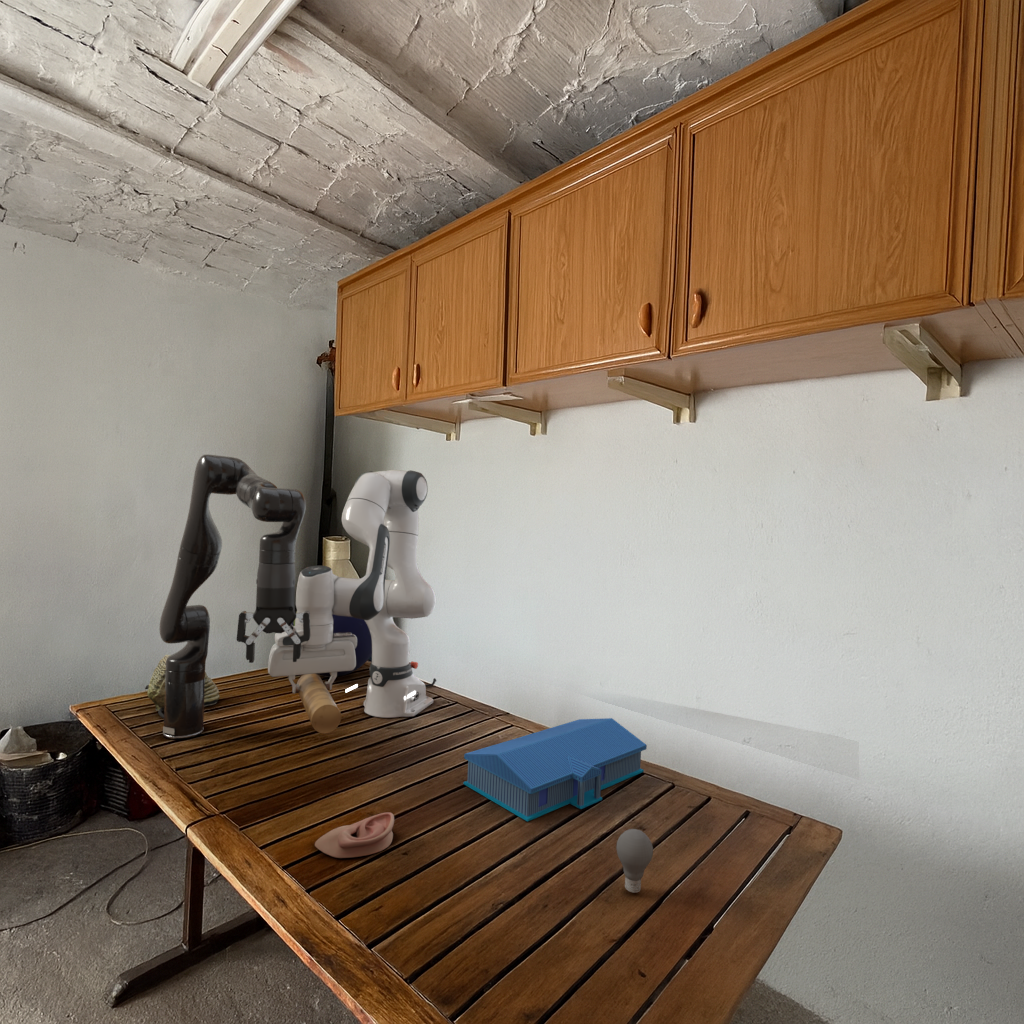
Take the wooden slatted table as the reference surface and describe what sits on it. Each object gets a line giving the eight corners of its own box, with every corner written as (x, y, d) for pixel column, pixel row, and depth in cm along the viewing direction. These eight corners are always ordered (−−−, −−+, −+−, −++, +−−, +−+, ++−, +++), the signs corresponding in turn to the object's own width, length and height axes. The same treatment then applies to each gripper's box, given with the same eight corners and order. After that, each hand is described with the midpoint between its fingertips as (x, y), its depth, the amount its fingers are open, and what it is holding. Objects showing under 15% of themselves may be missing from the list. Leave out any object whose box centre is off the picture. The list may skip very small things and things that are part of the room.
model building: (538, 828, 124) (540, 777, 124) (462, 783, 143) (463, 739, 142) (655, 776, 151) (657, 734, 151) (578, 743, 169) (579, 706, 169)
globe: (268, 679, 214) (272, 591, 213) (326, 660, 242) (329, 582, 241) (341, 693, 203) (345, 600, 202) (393, 671, 230) (396, 589, 230)
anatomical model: (306, 830, 112) (337, 801, 124) (305, 853, 112) (336, 821, 124) (376, 842, 110) (401, 811, 121) (375, 865, 110) (400, 831, 121)
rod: (340, 731, 136) (341, 703, 136) (310, 735, 133) (311, 706, 133) (321, 696, 158) (322, 671, 158) (296, 698, 155) (296, 673, 155)
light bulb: (610, 879, 108) (613, 822, 108) (644, 879, 109) (647, 822, 109) (619, 902, 102) (622, 840, 102) (655, 901, 103) (658, 840, 103)
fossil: (144, 707, 182) (145, 655, 182) (212, 696, 194) (213, 647, 194) (151, 716, 175) (153, 662, 175) (221, 703, 188) (223, 653, 188)
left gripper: (313, 582, 137) (310, 656, 137) (242, 581, 134) (240, 657, 134) (310, 587, 130) (307, 665, 130) (236, 586, 126) (233, 667, 127)
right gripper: (354, 629, 160) (352, 683, 160) (268, 633, 151) (266, 691, 151) (360, 634, 154) (358, 690, 154) (270, 639, 145) (268, 699, 145)
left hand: (273, 661), depth 132 cm, fingers open, 8 cm apart
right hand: (311, 691), depth 153 cm, fingers closed on rod, 6 cm apart
